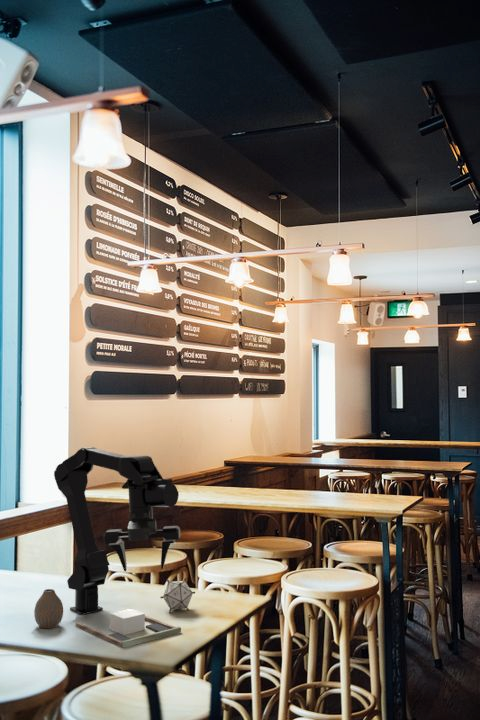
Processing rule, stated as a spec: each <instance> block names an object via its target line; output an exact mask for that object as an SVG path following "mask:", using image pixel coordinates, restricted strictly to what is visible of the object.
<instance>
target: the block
mask: <svg viewBox="0 0 480 720" xmlns="http://www.w3.org/2000/svg"><path fill="white" fill-rule="evenodd" d="M145 616H146V615H145V613H144V612H141V611H139V610H136V609H132V608H127V609H124V610H119V611H114V612H110V613H109V630H111V631H114V633H117V632H118V633H120V634H122V635H125V636H126V635H128V634H133V633H137V632H140V631H145V629H146V625H145V622H146V621H145Z"/></svg>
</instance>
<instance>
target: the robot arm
mask: <svg viewBox="0 0 480 720" xmlns="http://www.w3.org/2000/svg"><path fill="white" fill-rule="evenodd" d="M94 466H96V467H100V468H103V469H108V470H111V471H115V472H117V473H118V475H120V476H121V477H123V478H124V479H127V480H126V481H125V483H123V484H122V486H121V489H124V490H125V489H127V490H128V506H129V520H128V523H127V531H123V530H122V528H117V529H107V530H106V531H105V532H104V533H103V534H102V541H103V542H102V544H104V545H107V544H108V546H109V548H112V549H114V550H115V552H116V554H117V556H118V559H119V561H120V563H121V566H122V568H123V569H122V570H124V572H127V568H128V567H127V559H126V558H127V557H126V548H125V541H124V540H128V541H130V542H134V541H139V540H140V541H147V540H148V539H153V538H157V539H158V538H162V539H163V540H162V541H161V556H160V558H161V560H160V568H161V570H163V569H164V567H165V562H166V558H167V555H168V551H169V549H170V547H171V544H174V543H175V542H176V540H179V539H180V538H181V527H180V526H178V525H169V526H168V525H165V526H164V527H163V528H162V529H158V525H157V520H156V519H157V518H154V516H153V515H154V513H153V507H155V508H157V507H158V508H172V507H174V506H176V504H177V502H178V501H179V495H180V494H179V491H178V489H177V487H176V484H174V483H173V479H172V478H163V476H162V475H161V473H160V472H159V470H158V468H157V466H156V465H155V463H154V461H153V458H152V457H151V456H149V455H123V454H119V453H115V452H111V451H107V450H102V449H98V448H96V447H93V446H91V447H82V448H80V449H78V450H77V451H76V453H74V454H73V455H70V457H68V458H66V459H64V460H63V461H62V462H61V463H60V464H57V466H56V467H55V470H54V471H53V472H54V473H53V476H54V477H53V478H54V480H55V483H56V486H57V489H58V490H59V491H60V493H61V494H63V496H64V497H65V499H66V503H67V507H68V508H67V509H68V512H69V517H70V521H71V525H72V526H71V527H72V531H73V535H74V540H75V543H76V544H75V545H76V549H77V552H76V555H75V558H74V571H73V572H72V574H71V575H70V576H69V577H68V578H67V585H68V589H71V590H75V592H74V593H75V596H74V597H75V599H74V606H71V607H70V608H69V610H70V611H73V612H75V613H78V614H79V615H86V614H90V613H96V612H99V611H103V610H104V607H103V606H99V586H102V585H105V582H106V580H107V576H108V573H110V569H109V566H110V562H109V560H108V554H107V551H106V549H103V550H101V549H100V547H98V545H97V542H96V538H95V533H94V528H93V525H92V519H91V516H90V511H89V507H88V506H89V505H88V502H87V497H86V489H87V486H88V481H89V480H88V479H89V478H88V474H89V473H90V472H92V471H93V469H94Z"/></svg>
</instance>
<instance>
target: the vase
mask: <svg viewBox="0 0 480 720" xmlns="http://www.w3.org/2000/svg"><path fill="white" fill-rule="evenodd" d="M33 613H34V620H35V622H36V624H37V625H38V626H39V627H40V628H41V629H45V630H46V629H48V630H49V629H53V628H56V627H57V626H58V625H59V624H60V623H61V622H62V620H63V617H64V605H63V601H62V600H61V599H60V598H59V596H58V595H57V593H56V591H55V589H52V588H46V589H44V590H43V593H42V594H41V596H40V597H39V598H38V599H37V601H36V603H35V607H34V611H33Z"/></svg>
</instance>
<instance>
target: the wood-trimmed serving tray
mask: <svg viewBox="0 0 480 720" xmlns="http://www.w3.org/2000/svg"><path fill="white" fill-rule="evenodd" d="M145 622H147V623H150V624H155V623H157V624H159V625H162V626H164V627H167V628H170V629H168V630H164V631H160V632H153V633H149V634H145V635H140V636H137V637H133V638H132V639H129V640H125V641H120V640H118V639H116V638H113V637H111V636H109V634H106V633H104V632H102V631H99V630H97V629H95V628H92V627H91V626H89V625H86V624H84V623H81V622H79V621H78V622H75V627H77V628H79V629H80V630H83V631H85V630H86V632H88V633H90V634H92V635H95V636H97V637H99V638H101V639H103V640H105V641H108V642H110V643H112V644H114V645H117V646H119V647H121V648H127V647H132V646H134V645H139V644H143V643H146V642H150V641H153V640H157V639H161V638H166V637H169V636H172V635H173V636H174V635H177V634H181V633H182V627H181V626H173V625H171V624H168V623H165V622H163V621H160V620H158V619H155V618H152V617H150V616H147V615H145Z"/></svg>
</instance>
